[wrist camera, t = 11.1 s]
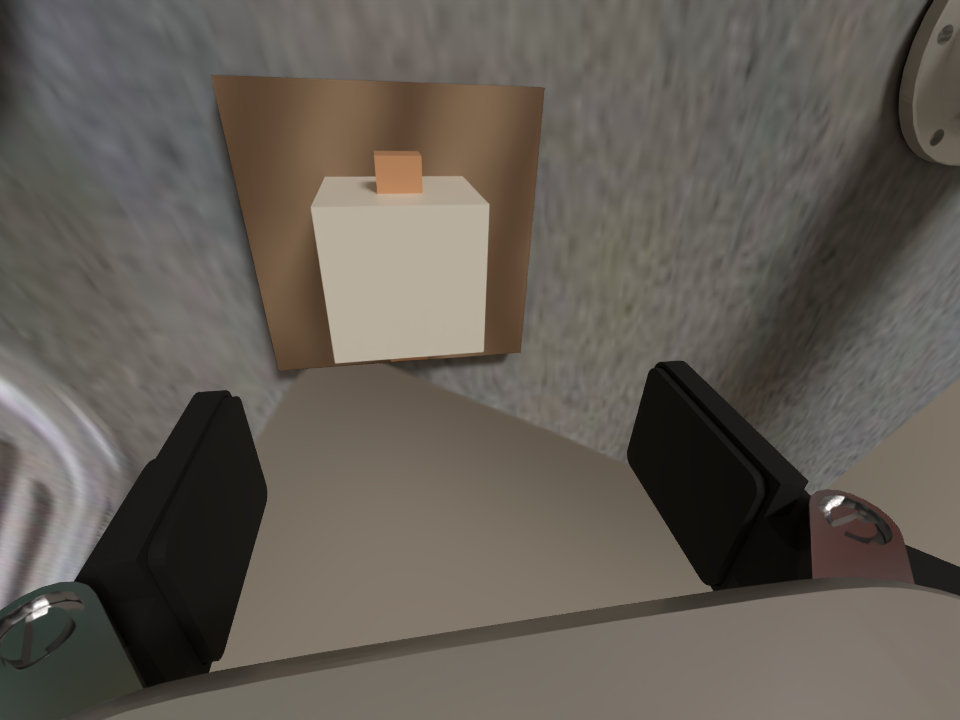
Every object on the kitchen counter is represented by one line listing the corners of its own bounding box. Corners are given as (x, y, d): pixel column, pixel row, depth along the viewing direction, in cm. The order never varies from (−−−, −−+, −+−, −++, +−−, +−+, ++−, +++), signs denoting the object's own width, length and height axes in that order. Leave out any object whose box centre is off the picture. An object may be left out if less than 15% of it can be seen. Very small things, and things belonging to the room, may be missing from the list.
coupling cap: (320, 143, 20) (303, 164, 15) (462, 144, 21) (491, 164, 16) (345, 328, 25) (339, 390, 20) (461, 321, 26) (482, 378, 21)
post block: (534, 87, 22) (583, 89, 17) (514, 340, 29) (544, 395, 24) (220, 75, 20) (168, 73, 14) (282, 357, 27) (262, 422, 22)
